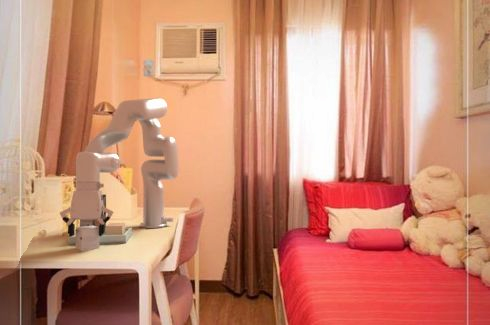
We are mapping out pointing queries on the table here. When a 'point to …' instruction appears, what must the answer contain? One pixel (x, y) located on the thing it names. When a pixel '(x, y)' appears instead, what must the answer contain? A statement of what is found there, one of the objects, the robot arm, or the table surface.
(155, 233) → the table surface
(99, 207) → the robot arm
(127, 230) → the grey-green tray
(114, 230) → the parcel
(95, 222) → the coffee box
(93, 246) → the skincare box
